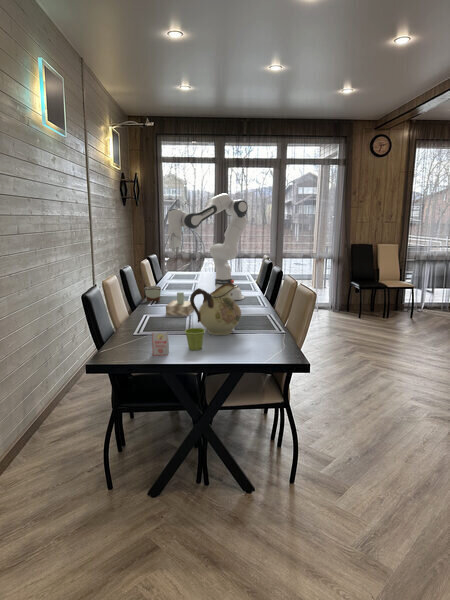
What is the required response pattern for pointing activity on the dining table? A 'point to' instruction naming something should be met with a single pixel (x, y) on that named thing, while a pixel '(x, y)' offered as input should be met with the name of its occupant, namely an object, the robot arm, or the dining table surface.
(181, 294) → the sage block
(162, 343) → the white printed box
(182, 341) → the dining table surface
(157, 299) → the food container
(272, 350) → the dining table surface
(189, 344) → the plant pot
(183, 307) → the birch riser block
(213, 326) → the pitcher
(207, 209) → the robot arm
